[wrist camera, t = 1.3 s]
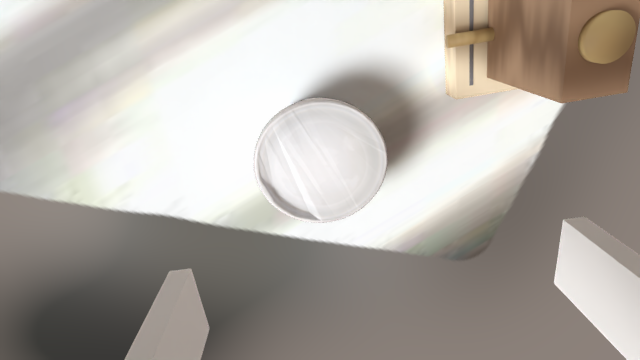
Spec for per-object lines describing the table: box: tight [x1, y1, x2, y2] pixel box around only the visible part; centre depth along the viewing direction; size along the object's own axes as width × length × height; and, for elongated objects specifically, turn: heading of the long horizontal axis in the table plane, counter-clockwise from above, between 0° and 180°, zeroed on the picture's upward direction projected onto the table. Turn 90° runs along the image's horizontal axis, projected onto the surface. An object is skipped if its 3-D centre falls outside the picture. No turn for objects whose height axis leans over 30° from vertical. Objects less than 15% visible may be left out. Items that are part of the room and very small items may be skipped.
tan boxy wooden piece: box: [445, 0, 640, 103], centre depth 26 cm, size 7×8×11 cm
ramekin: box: [254, 98, 388, 223], centre depth 35 cm, size 11×11×5 cm
